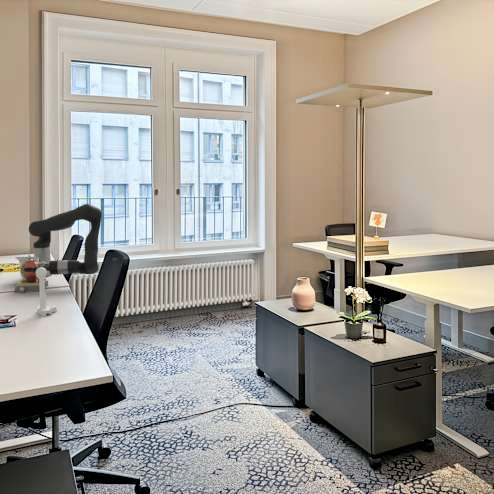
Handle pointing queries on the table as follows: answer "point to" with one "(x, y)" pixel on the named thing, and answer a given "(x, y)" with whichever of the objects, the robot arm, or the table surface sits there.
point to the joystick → (43, 294)
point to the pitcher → (22, 264)
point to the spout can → (31, 276)
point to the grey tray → (29, 286)
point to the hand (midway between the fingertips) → (26, 268)
